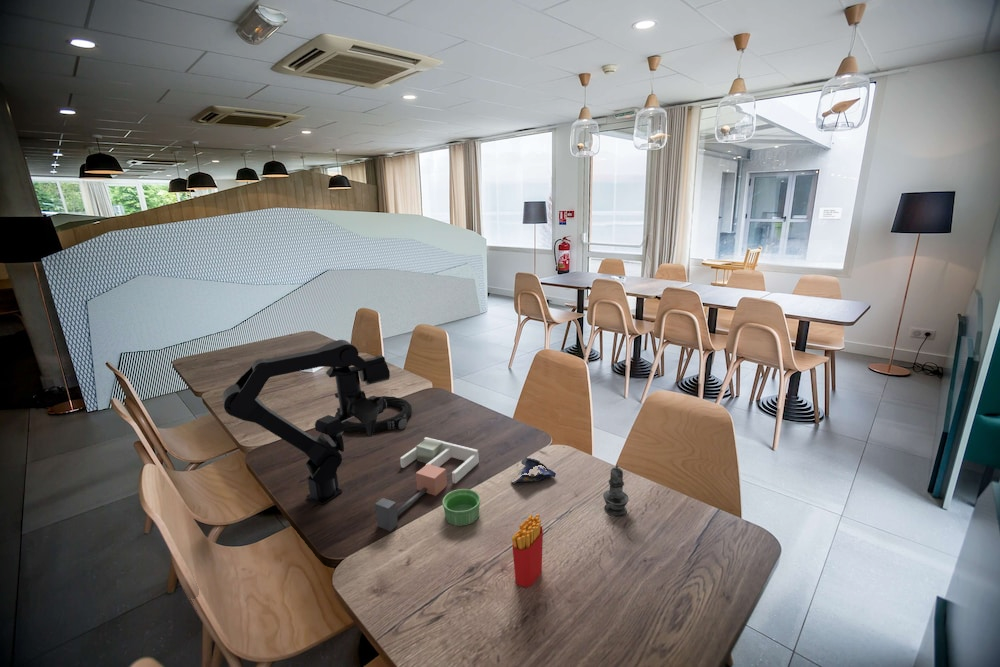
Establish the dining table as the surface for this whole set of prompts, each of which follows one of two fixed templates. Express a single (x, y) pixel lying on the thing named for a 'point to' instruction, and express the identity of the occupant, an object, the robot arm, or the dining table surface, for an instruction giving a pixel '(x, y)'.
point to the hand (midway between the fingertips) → (356, 443)
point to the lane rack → (448, 451)
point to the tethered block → (427, 481)
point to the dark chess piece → (616, 494)
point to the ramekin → (461, 506)
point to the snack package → (529, 465)
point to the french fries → (528, 551)
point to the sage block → (428, 450)
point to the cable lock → (393, 422)
